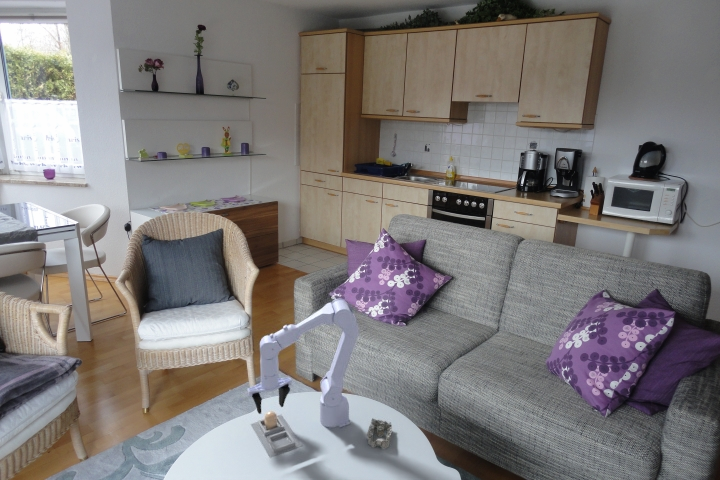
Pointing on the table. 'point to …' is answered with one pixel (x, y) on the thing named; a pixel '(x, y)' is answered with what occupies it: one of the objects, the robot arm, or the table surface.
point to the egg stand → (276, 437)
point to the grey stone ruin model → (379, 433)
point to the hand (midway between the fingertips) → (270, 408)
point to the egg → (270, 420)
